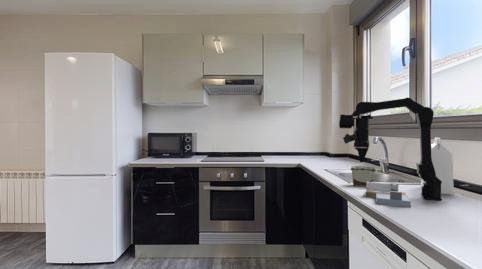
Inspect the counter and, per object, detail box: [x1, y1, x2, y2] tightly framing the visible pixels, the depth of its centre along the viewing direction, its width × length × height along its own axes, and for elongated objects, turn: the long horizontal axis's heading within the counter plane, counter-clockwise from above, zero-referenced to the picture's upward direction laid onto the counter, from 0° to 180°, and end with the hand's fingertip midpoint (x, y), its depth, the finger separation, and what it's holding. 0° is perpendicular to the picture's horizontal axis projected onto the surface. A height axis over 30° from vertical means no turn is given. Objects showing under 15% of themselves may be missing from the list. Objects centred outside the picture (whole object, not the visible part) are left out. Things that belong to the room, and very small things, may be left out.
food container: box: [350, 165, 377, 188], centre depth 151 cm, size 12×6×10 cm, turn 65°
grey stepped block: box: [375, 191, 412, 208], centre depth 117 cm, size 12×10×5 cm
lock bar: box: [365, 181, 400, 192], centre depth 127 cm, size 13×4×3 cm, turn 65°
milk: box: [420, 137, 455, 195], centre depth 139 cm, size 12×12×26 cm
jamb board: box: [365, 190, 407, 198], centre depth 128 cm, size 16×9×2 cm, turn 65°
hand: (361, 161), depth 136 cm, fingers open, 9 cm apart
